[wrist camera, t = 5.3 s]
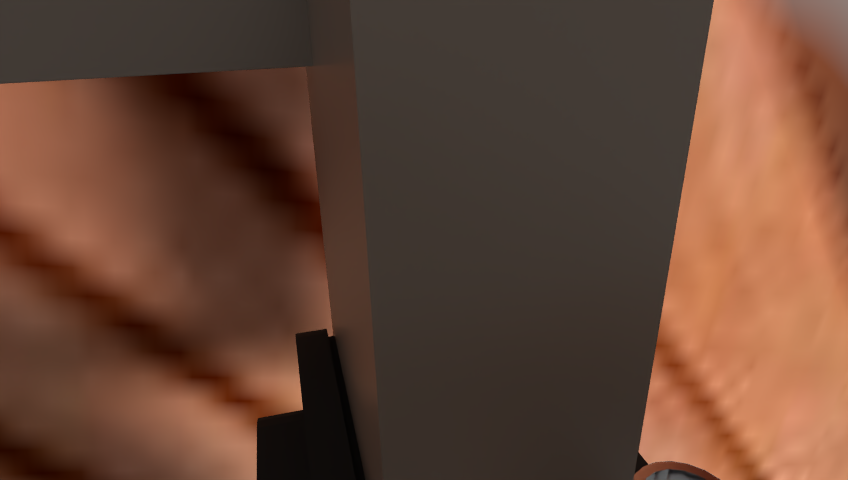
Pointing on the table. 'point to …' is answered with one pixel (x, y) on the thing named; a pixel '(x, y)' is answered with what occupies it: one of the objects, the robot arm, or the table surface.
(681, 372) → the table surface
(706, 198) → the table surface
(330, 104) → the grey frame
